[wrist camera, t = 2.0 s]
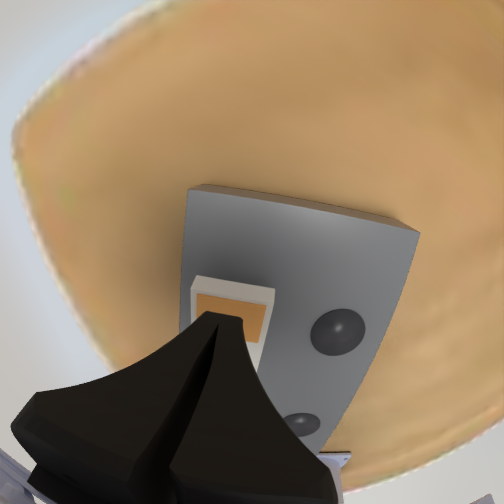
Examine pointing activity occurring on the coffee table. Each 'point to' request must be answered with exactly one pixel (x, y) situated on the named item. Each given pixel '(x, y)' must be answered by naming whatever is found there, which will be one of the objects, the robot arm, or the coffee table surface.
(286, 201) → the grey switch panel
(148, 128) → the coffee table surface
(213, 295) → the rocker
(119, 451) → the robot arm
